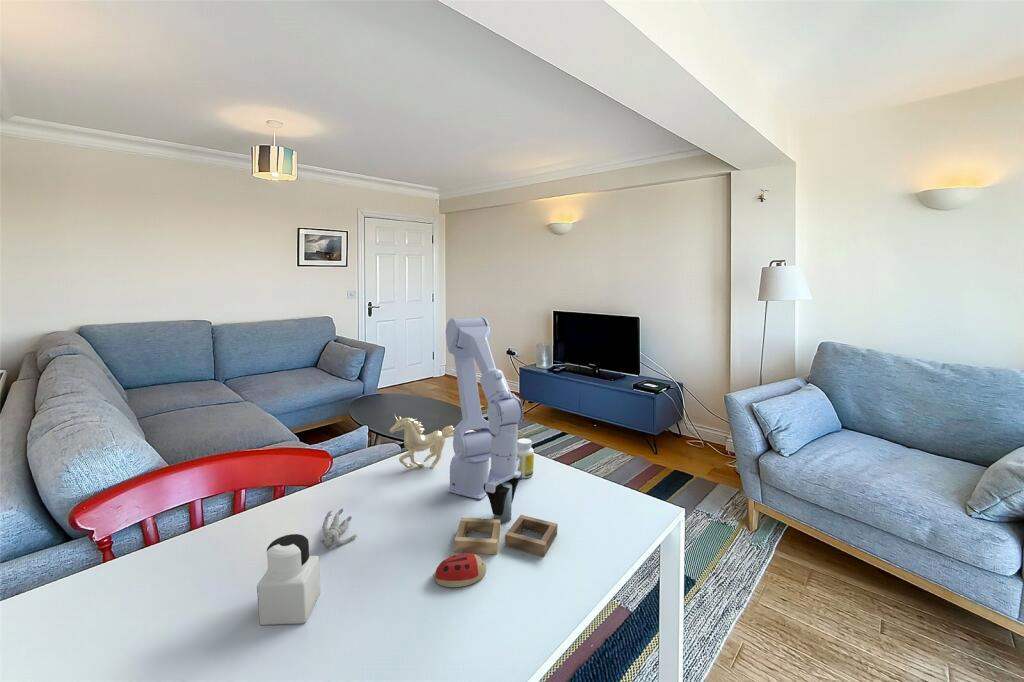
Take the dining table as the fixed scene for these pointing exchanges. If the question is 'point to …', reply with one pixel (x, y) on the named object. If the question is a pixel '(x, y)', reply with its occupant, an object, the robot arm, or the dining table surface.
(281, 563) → the white blocky bust figurine
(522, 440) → the supplement bottle
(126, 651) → the dining table surface
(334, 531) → the grey branched piece
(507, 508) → the thick gray cylindrical peg
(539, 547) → the wooden square ring
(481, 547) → the light wooden square frame
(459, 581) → the ladybug figurine
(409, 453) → the unicorn
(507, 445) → the robot arm
